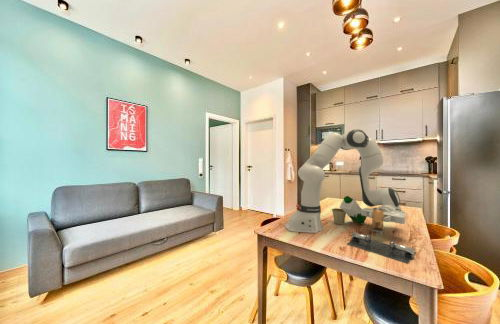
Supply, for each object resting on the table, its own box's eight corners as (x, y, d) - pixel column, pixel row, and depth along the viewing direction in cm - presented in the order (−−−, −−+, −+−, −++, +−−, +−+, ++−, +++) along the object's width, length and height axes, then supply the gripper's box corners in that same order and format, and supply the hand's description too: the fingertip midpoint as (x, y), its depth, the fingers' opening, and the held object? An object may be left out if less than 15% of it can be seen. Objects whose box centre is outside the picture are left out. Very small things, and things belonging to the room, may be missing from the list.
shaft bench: (346, 244, 98) (346, 234, 98) (357, 236, 107) (357, 227, 107) (409, 264, 79) (409, 252, 78) (417, 253, 87) (417, 242, 87)
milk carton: (369, 214, 129) (354, 196, 121) (364, 226, 126) (348, 208, 119) (356, 211, 136) (342, 194, 129) (351, 222, 134) (336, 205, 127)
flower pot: (344, 221, 135) (344, 208, 135) (349, 225, 125) (349, 212, 125) (329, 220, 136) (329, 208, 136) (334, 225, 127) (334, 211, 126)
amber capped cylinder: (375, 233, 100) (376, 209, 100) (369, 229, 105) (369, 207, 105) (386, 233, 100) (386, 209, 100) (379, 229, 105) (379, 207, 105)
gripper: (366, 204, 119) (356, 207, 110) (408, 211, 103) (401, 216, 94) (365, 214, 119) (356, 219, 110) (408, 223, 103) (400, 229, 94)
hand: (377, 217), depth 102 cm, fingers closed on amber capped cylinder, 5 cm apart
